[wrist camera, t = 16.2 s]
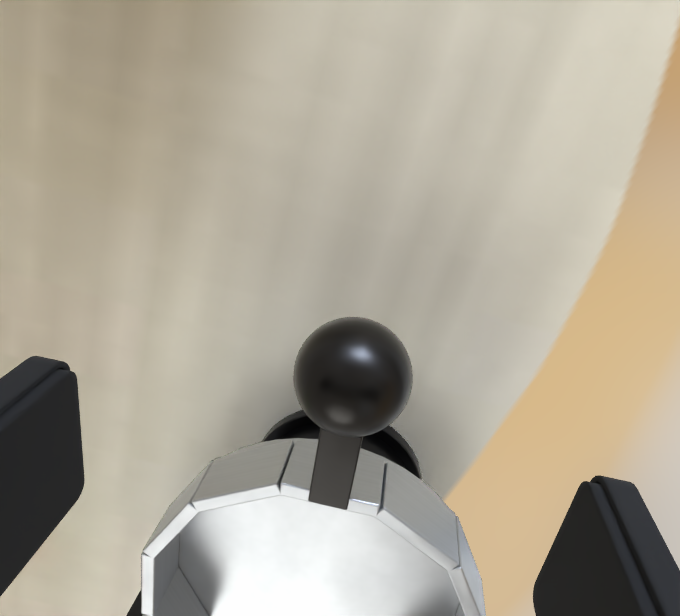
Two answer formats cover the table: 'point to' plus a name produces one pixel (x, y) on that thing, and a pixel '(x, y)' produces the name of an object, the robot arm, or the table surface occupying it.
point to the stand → (303, 427)
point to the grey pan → (317, 509)
